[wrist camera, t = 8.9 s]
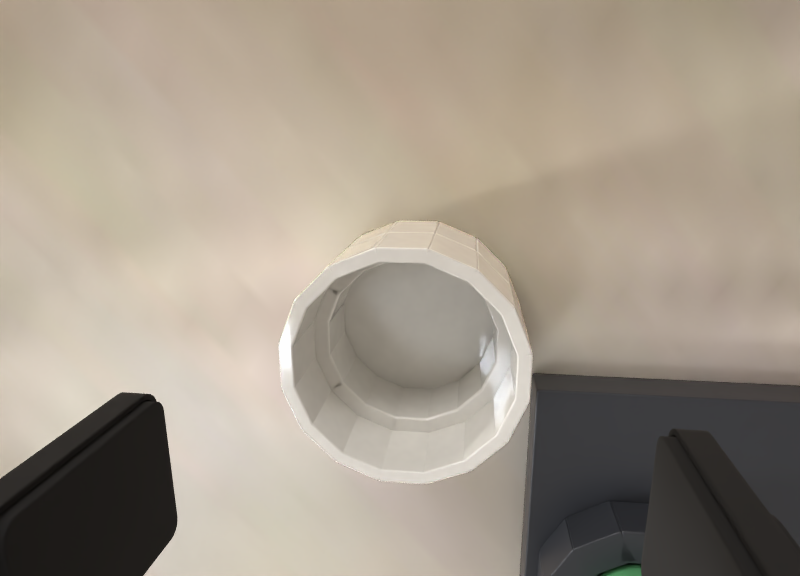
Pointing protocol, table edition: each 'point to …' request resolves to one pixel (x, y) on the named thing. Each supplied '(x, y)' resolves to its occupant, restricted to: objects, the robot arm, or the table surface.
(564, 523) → the scale
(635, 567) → the button
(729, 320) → the table surface
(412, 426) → the bowl
